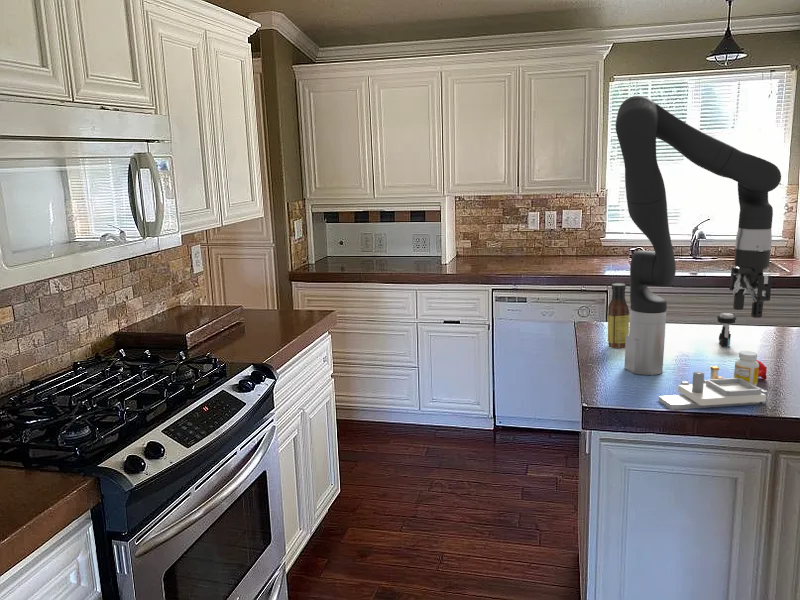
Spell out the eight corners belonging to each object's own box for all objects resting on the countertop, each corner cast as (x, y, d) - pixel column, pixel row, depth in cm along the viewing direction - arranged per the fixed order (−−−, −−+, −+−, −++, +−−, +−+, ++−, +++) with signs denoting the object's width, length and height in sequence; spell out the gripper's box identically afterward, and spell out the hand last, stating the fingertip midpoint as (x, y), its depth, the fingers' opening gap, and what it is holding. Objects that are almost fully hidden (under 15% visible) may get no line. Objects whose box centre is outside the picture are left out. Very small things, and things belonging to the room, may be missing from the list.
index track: (671, 409, 154) (672, 384, 153) (647, 393, 165) (648, 369, 164) (766, 403, 157) (768, 379, 155) (736, 387, 168) (738, 364, 167)
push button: (712, 341, 210) (714, 311, 208) (730, 342, 209) (733, 311, 207) (717, 347, 204) (719, 315, 202) (735, 348, 203) (738, 316, 201)
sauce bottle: (631, 346, 207) (635, 283, 203) (623, 350, 202) (626, 286, 198) (612, 342, 211) (614, 281, 207) (602, 346, 207) (605, 284, 203)
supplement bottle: (739, 393, 164) (742, 356, 162) (728, 386, 169) (731, 350, 167) (761, 393, 164) (764, 355, 162) (750, 385, 169) (753, 349, 167)
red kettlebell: (753, 375, 167) (772, 361, 168) (734, 361, 172) (753, 348, 172) (755, 393, 172) (773, 380, 173) (737, 380, 177) (755, 367, 177)
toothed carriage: (700, 405, 152) (702, 380, 151) (675, 389, 163) (677, 366, 162) (765, 401, 154) (767, 376, 153) (736, 385, 165) (738, 362, 164)
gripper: (722, 243, 165) (717, 307, 168) (753, 251, 151) (746, 320, 154) (752, 243, 165) (747, 306, 168) (785, 250, 151) (779, 319, 154)
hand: (747, 313), depth 161 cm, fingers open, 8 cm apart
